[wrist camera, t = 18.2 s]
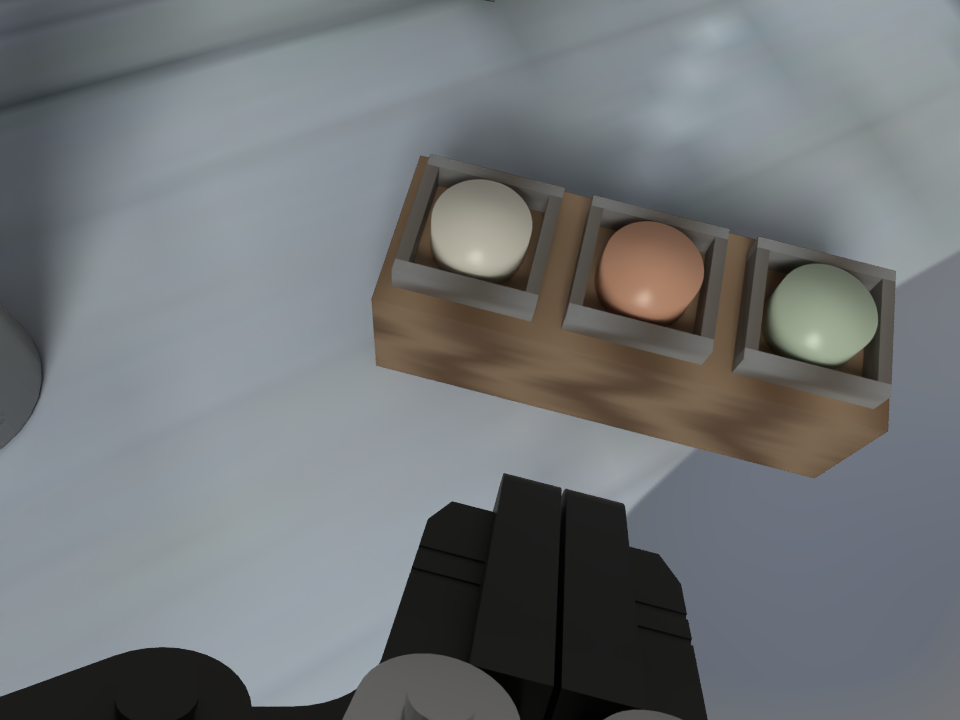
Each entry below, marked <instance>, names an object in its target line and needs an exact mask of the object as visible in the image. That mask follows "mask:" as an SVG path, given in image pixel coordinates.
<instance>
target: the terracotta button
mask: <svg viewBox="0 0 960 720" xmlns="http://www.w3.org/2000/svg"><path fill="white" fill-rule="evenodd" d="M703 278H704V265H703V260H702V257H701V255H700V253H699V251H698V249H697V247H696V246H695V245H694V243H693V242H692V241H691V240H690V239H689V238H688V237H687V236H686V235H685V234H683V233H682V232H680V231H679V230H677V229H675V228H674V227H671V226H669V225H666V224H663V223H659V222H652V221H642V222H636V223H632V224H629V225H627V226H624V227H623V228H621V229H619V230H618V231H617V232H616V233H615V234H614V235H613V236H612V237H611V238H610V240H609V241H608V243H607V245H606V248H605V250H604V252H603V255H602V257H601V260H600V262H599V265H598V267H597V270H596V273H595V291H596V294H597V297H598V299H599V301H600V303H601V304H602V306H603V307H604V309H605V310H606V311H607V312H608V313H612V314H615V315H619V316H623V317H627V318H631V319H635V320H639V321H643V322H647V323H651V324H655V325H659V326H663V327H666V326H668V325H671V324H672V323H674V322H675V321H677V320H678V319H679V318H680V317H681V316H682V315H683V314H684V312H685V311H686V309H687V308H688V306H689V305H690V303H691V301H692V300H693V298H694V297H695V295H696V294H697V292H698V291H699V289H700V287H701V285H702V282H703Z"/></svg>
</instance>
